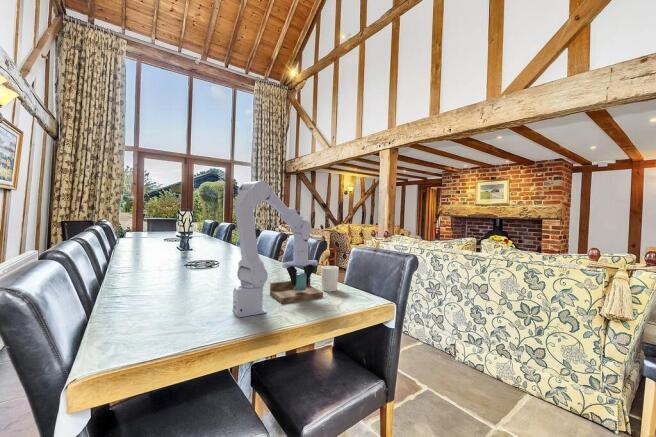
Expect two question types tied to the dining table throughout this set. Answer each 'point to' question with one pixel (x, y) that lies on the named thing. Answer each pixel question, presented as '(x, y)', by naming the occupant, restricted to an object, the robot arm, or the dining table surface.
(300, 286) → the teal round canister
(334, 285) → the white cup
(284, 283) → the walnut shelf
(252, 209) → the robot arm
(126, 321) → the dining table surface
